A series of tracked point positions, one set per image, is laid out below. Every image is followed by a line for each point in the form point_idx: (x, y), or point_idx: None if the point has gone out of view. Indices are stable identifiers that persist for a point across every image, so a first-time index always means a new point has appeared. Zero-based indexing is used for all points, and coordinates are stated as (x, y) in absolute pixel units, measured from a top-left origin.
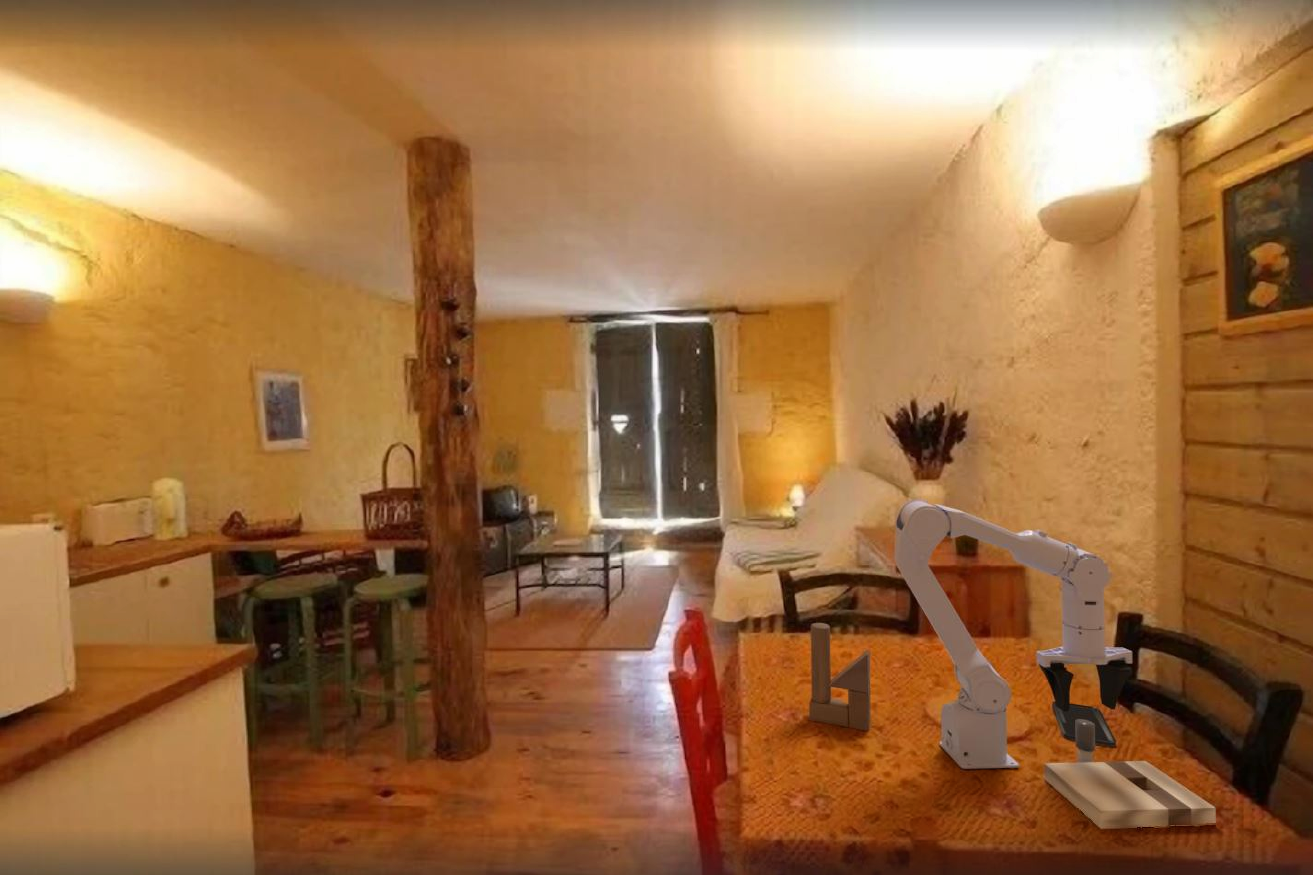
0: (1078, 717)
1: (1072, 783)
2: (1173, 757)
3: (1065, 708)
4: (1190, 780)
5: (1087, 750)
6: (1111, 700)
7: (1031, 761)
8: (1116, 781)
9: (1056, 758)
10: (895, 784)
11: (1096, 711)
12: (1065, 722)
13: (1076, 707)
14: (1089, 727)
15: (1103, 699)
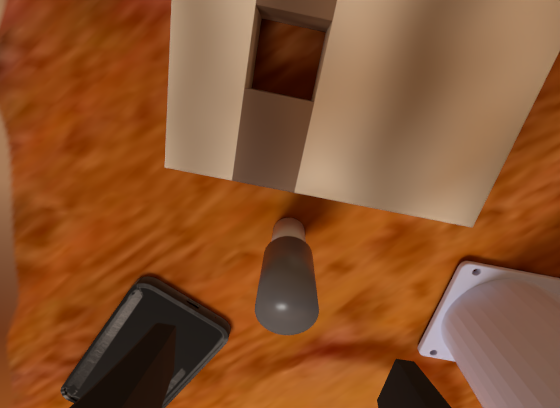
0: None
1: (513, 115)
2: (36, 209)
3: (424, 374)
4: (75, 113)
5: (302, 240)
6: (154, 366)
7: (399, 275)
8: (365, 89)
9: (328, 271)
10: None
11: (72, 385)
12: (181, 370)
13: None
14: (298, 284)
15: (163, 388)
